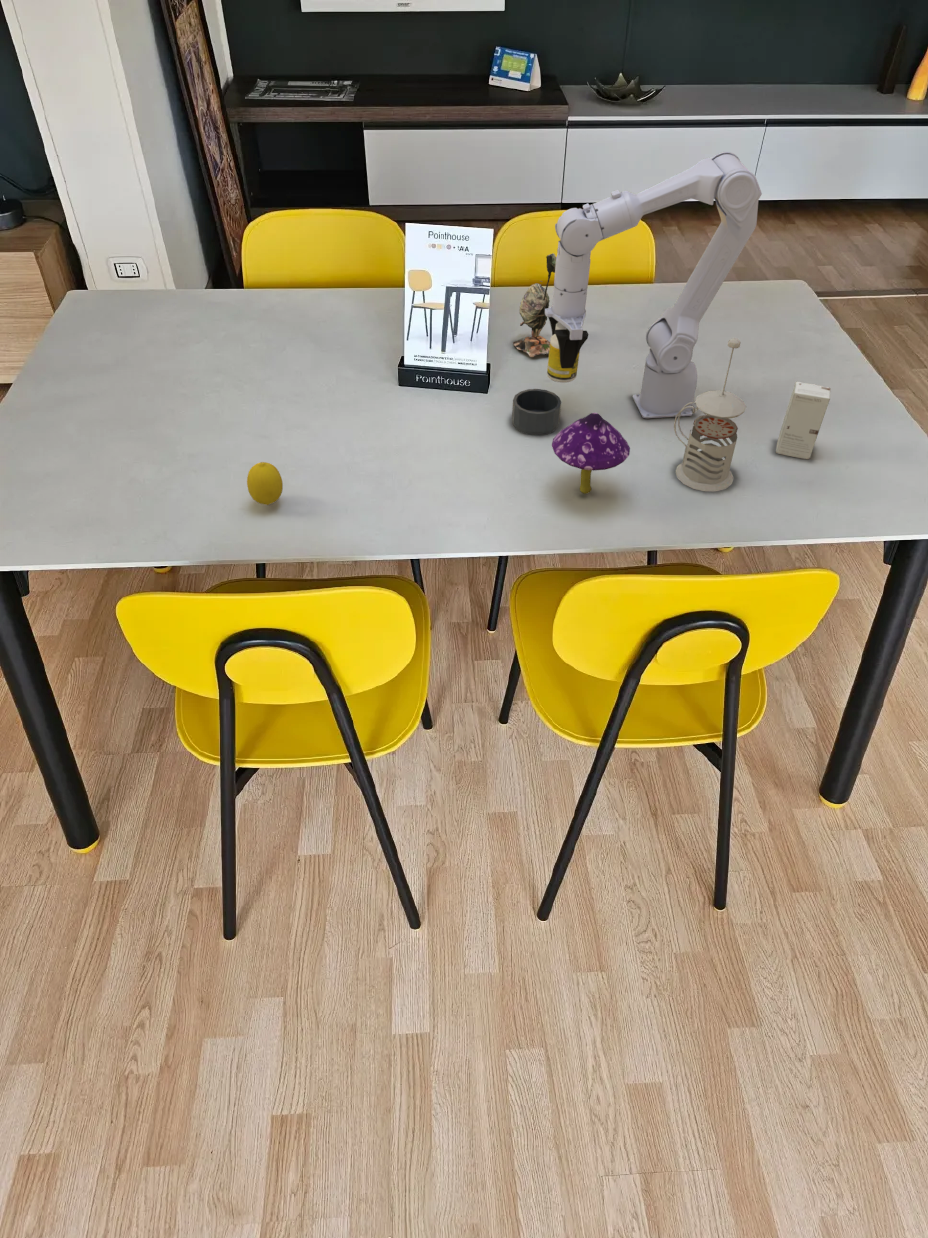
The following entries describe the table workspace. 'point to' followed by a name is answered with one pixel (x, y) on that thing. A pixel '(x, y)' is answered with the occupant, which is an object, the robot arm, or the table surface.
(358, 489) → the table surface
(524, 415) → the metal bowl
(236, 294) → the table surface
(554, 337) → the supplement bottle
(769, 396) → the table surface
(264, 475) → the lemon
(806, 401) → the cosmetic box
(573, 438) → the decorative mushroom
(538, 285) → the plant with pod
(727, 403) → the french press
